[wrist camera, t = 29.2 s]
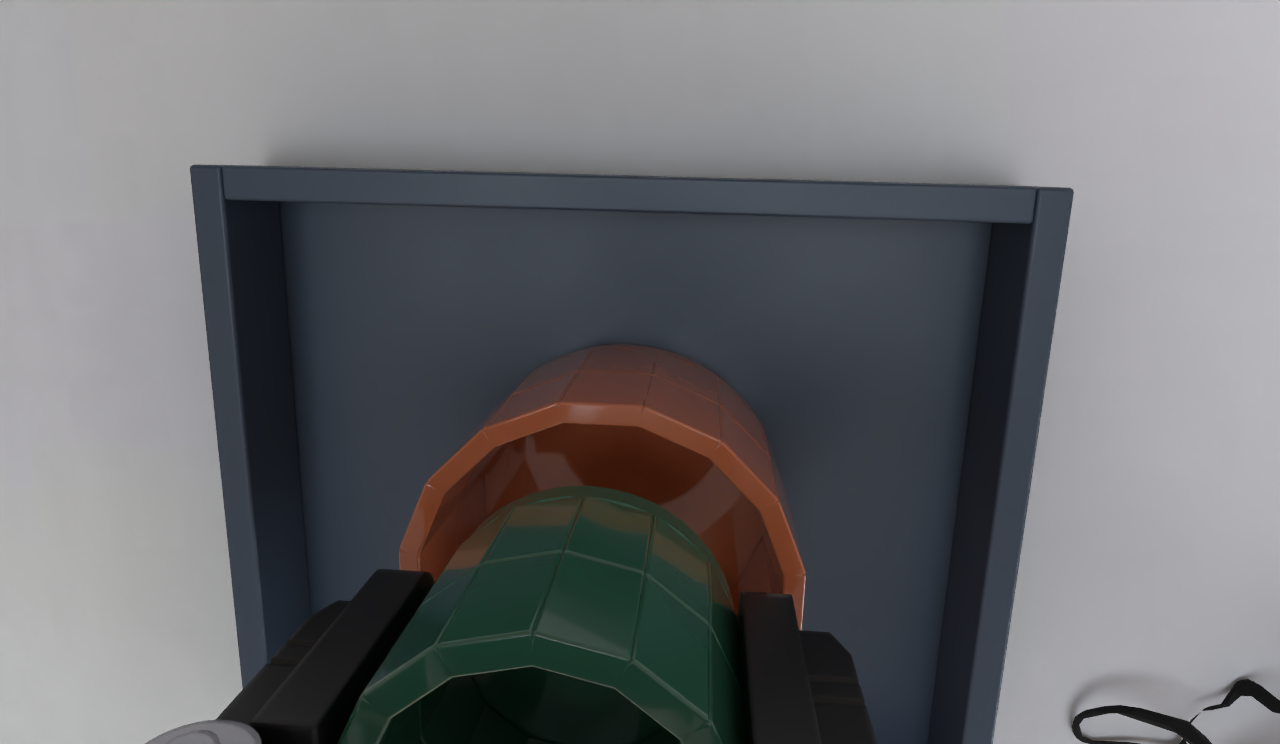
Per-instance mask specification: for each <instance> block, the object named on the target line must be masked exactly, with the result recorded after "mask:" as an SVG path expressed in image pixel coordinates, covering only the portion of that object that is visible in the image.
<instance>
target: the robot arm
mask: <svg viewBox="0 0 1280 744" xmlns="http://www.w3.org/2000/svg"><path fill="white" fill-rule="evenodd" d="M433 585H434V580H433V577H432V574H431V573H430V572H427V571H410V570H394V569H378V570H376V571H375V572H374V573H373V575H372V576H371V577H370V578H369V579H368V581H367V582H366V583H365V584H364V585H363V587H362V588H361V589H360V590H359V591H358V593H357V594H356V595H355V596H354V597H353V599H352V600H351V601H342V600H337V601H336V602H334V603H332V604H331V605H329V606H327V607H325V608H324V609H322V610H320V611H319V612H317V613H315V614H313V615H312V616H310V617H308V618H307V619H306V620H305V621H304V622H303V623H302V624H301V625H300V627H299V628H298V629H297V630H296V631H295V632H294V633H293V634H292V635H291V637H290V638H289V639H288V640H287V644H286V645H282V647H281V648H280V649H279V650H278V651H277V652H276V653H275V654H274V655H273V657H272V658H271V661H270V663H266V664H265V666H264V667H263V668H262V669H261V670H260V671H259V672H258V673H257V674H256V676H255V677H254V678H253V679H252V680H251V681H250V682H249V683H248V684H247V686H246V687H245V688H244V689H243V690H242V691H241V692H240V693H239V694H238V696H237V697H236V698H235V699H234V700H233V701H232V702H231V703H230V704H229V706H228V707H227V708H226V709H225V710H224V711H223V712H222V713H221V714H220V716H219V717H218V718H217V719H216V720H208V721H202V722H196V723H192V724H188V725H184V726H181V727H178V728H175V729H173V730H170V731H168V732H166V733H163V734H161V735H159V736H157V737H156V738H154V739H152V740H150V741H148V742H147V743H146V744H337V742H338V740H339V738H340V736H341V734H342V732H343V730H344V728H345V726H346V723H347V721H348V719H349V717H350V715H351V713H352V711H353V709H354V707H355V705H356V703H357V701H358V699H359V697H360V695H361V694H362V692H363V691H364V689H365V688H366V686H367V685H368V683H369V682H370V680H371V679H372V677H373V676H374V674H375V673H376V671H377V670H378V668H379V667H380V665H381V664H382V662H383V660H384V659H385V657H386V656H387V654H388V653H389V651H390V650H391V648H392V647H393V645H394V644H395V642H396V641H397V639H398V638H399V636H400V635H401V633H402V632H403V630H404V629H405V627H406V626H407V624H408V623H409V621H410V620H411V618H412V617H413V615H414V614H415V612H416V611H417V610H418V608H419V606H420V605H421V603H422V602H423V600H424V599H425V597H426V596H427V594H428V592H429V591H430V589H431V588H432V586H433ZM738 628H739V642H740V657H741V672H742V687H743V701H744V716H745V731H746V744H878V743H877V740H876V736H875V733H874V730H873V726H872V723H871V720H870V716H869V713H868V710H867V706H865V699H864V696H863V693H862V689H861V686H860V685H859V682H858V680H859V679H858V676H857V673H856V669H855V666H854V663H853V659H852V656H851V654H850V653H849V652H848V651H847V650H846V649H845V648H844V647H843V646H842V645H841V644H840V643H839V641H838V640H837V639H836V638H835V637H834V636H833V635H832V634H831V633H830V632H819V631H803V630H799V627H798V622H797V617H796V612H795V607H794V602H793V598H792V595H791V594H780V593H764V592H747V591H740V596H739V608H738Z"/></svg>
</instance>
